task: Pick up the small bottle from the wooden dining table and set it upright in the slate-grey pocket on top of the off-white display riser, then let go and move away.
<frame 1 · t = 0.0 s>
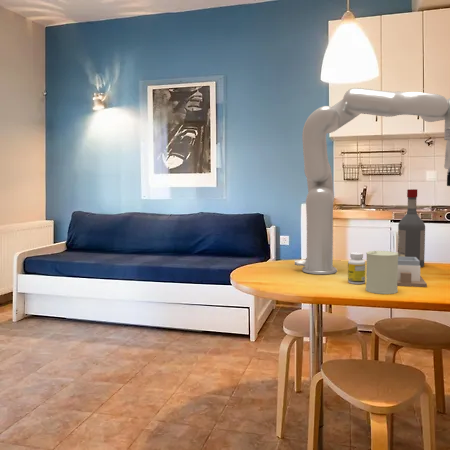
can: (381, 291, 135), on the table
liquor: (410, 266, 177), on the table
display riser: (403, 280, 148), on the table
supplement bottle: (356, 283, 147), on the table
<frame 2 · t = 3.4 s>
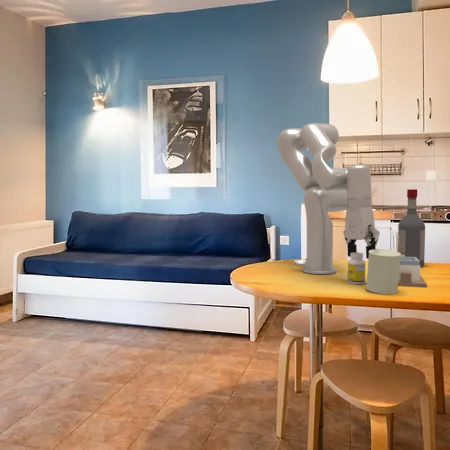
hand: (361, 257, 144), 9 cm above the table, fingers open, 9 cm apart
can: (381, 290, 135), on the table, touching gripper
everything else where it was.
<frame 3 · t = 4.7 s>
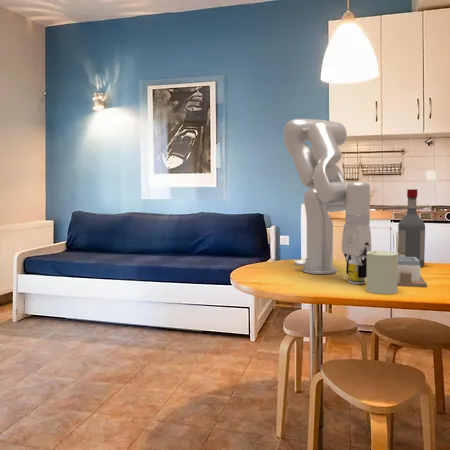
hand: (356, 275, 146), 3 cm above the table, fingers closed on supplement bottle, 5 cm apart
can: (381, 291, 136), on the table
supplement bottle: (356, 283, 147), on the table, touching gripper
everything else where it was.
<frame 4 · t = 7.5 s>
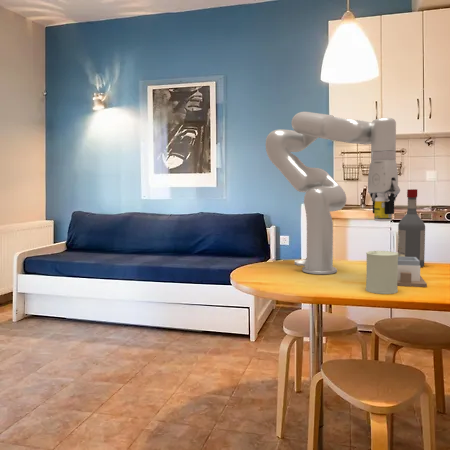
hand: (383, 213, 145), 23 cm above the table, fingers closed on supplement bottle, 5 cm apart
supplement bottle: (382, 221, 145), point 20 cm above the table, touching gripper
everything else where it was.
when the fingers open (10 cm above the table, at t = 10.7 s): supplement bottle drops 2 cm, resting on display riser.
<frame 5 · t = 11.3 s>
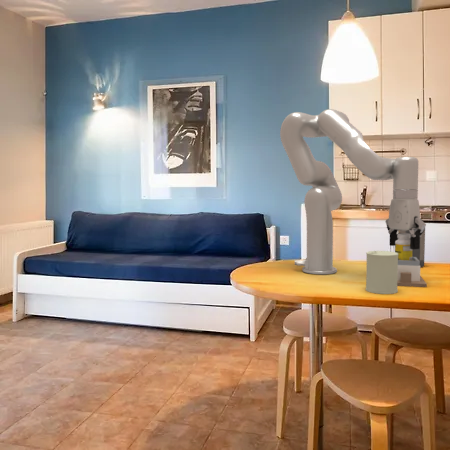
hand: (404, 247, 147), 11 cm above the table, fingers open, 9 cm apart
supplement bottle: (403, 263, 148), point 6 cm above the table, touching display riser
everything else where it was.
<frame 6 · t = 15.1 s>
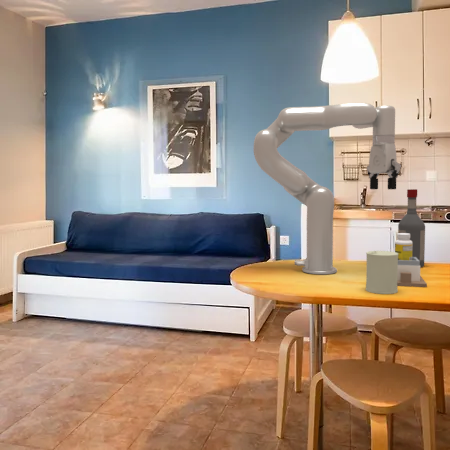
hand: (382, 189, 162), 30 cm above the table, fingers open, 9 cm apart
nothing on the table moved.
at the end: supplement bottle 0.1 cm off-centre on the display riser, point 5.8 cm above the display riser's base; supplement bottle tilted 0°; the gripper is holding nothing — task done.
